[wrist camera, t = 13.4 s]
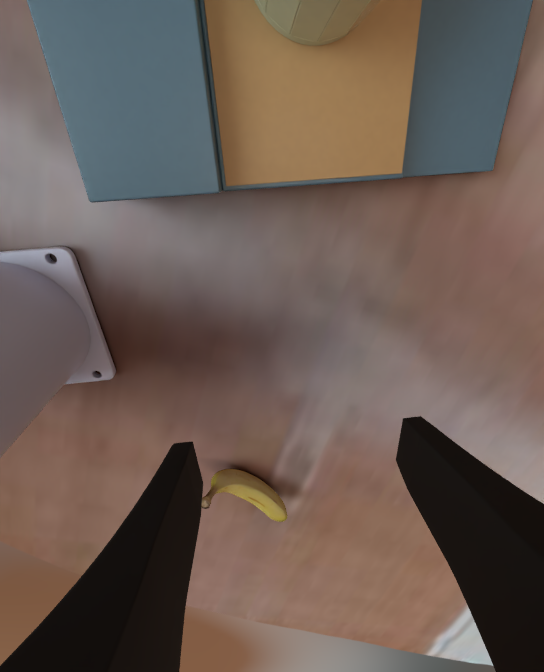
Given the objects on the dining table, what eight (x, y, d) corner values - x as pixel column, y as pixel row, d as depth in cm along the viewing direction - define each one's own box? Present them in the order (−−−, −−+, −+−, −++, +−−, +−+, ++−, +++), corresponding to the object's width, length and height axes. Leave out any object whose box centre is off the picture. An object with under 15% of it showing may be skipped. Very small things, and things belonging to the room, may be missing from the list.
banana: (199, 463, 24) (191, 513, 20) (213, 450, 23) (207, 499, 20) (277, 502, 27) (282, 552, 23) (291, 491, 26) (299, 540, 22)
